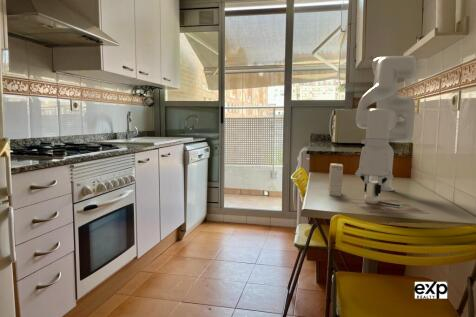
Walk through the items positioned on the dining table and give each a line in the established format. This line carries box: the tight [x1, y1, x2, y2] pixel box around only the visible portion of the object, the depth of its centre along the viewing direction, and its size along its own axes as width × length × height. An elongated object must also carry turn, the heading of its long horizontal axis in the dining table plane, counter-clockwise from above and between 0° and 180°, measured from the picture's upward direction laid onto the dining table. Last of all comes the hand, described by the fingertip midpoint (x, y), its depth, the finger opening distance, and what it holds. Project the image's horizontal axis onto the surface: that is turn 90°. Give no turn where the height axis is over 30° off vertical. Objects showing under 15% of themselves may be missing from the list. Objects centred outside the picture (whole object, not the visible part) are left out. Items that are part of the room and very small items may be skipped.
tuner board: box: [343, 196, 430, 215], centre depth 129 cm, size 24×20×1 cm
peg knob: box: [364, 181, 400, 207], centre depth 128 cm, size 12×7×8 cm, turn 51°
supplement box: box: [327, 162, 344, 197], centre depth 145 cm, size 8×5×13 cm, turn 168°
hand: (372, 194), depth 130 cm, fingers closed on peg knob, 2 cm apart
